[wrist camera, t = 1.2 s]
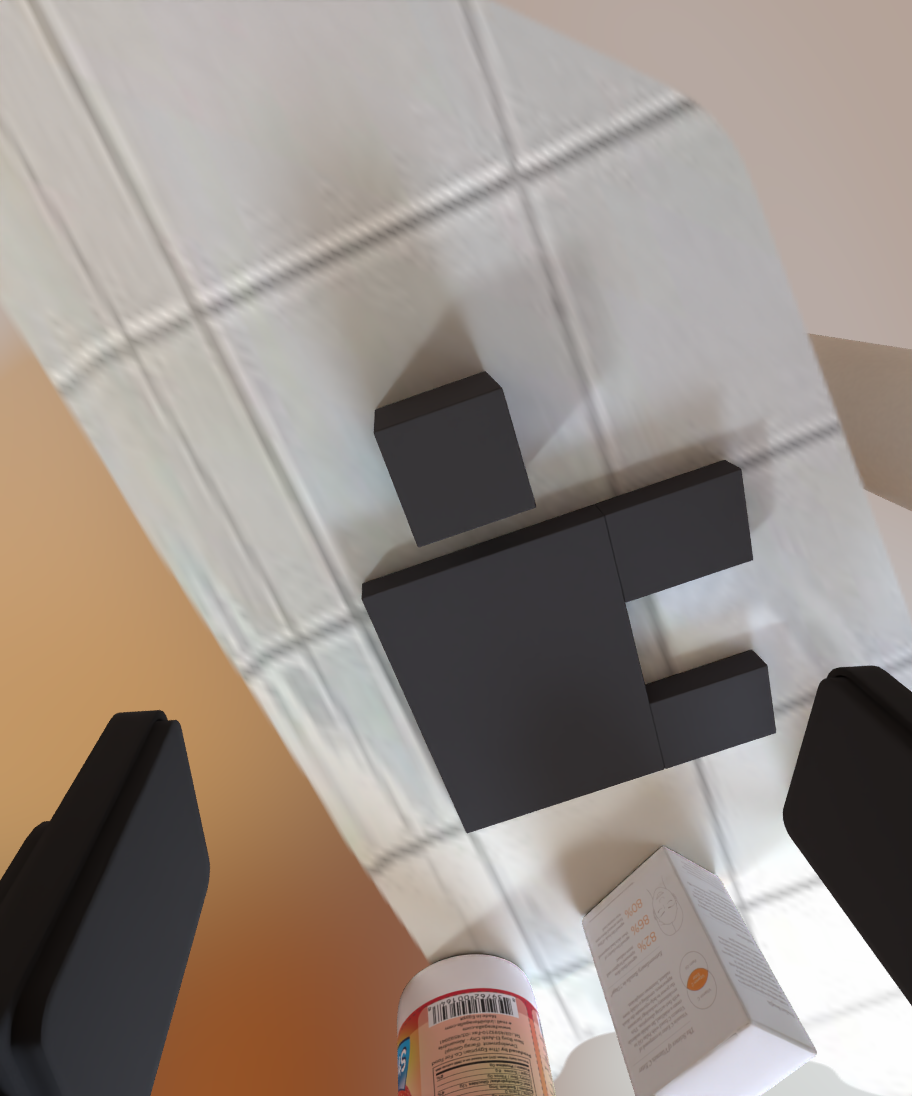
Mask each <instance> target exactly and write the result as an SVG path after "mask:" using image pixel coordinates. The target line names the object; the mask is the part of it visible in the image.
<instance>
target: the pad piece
mask: <svg viewBox="0 0 912 1096" xmlns="http://www.w3.org/2000/svg"><path fill="white" fill-rule="evenodd" d="M374 435H375V438H376V440H377V443H378V445H379V448H380V451H381V453H382V456H383V458H384V461H385V464H386V466H387V469H388V471H389V474H390V476H391V479H392V482H393V484H394V487H395V489H396V492H397V495H398V497H399V500H400V502H401V505H402V507H403V510H404V513H405V515H406V518H407V520H408V523H409V525H410V528H411V531H412V533H413V536H414V538H415V541H416V544H417V546H418V547H422V546H425V545H428V544H430V543H433V542H436V541H439V540H442V539H445V538H448V537H451V536H454V535H457V534H460V533H463V532H466V531H468V530H471V529H474V528H477V527H480V526H483V525H486V524H489V523H492V522H495V521H498V520H501V519H504V518H506V517H509V516H512V515H515V514H518V513H521V512H524V511H527V510H530V509H533V508H535V507H536V504H535V500H534V497H533V493H532V490H531V486H530V483H529V479H528V476H527V473H526V469H525V466H524V462H523V459H522V455H521V452H520V448H519V445H518V441H517V438H516V434H515V431H514V427H513V424H512V420H511V417H510V414H509V410H508V407H507V403H506V400H505V396H504V393H503V389H502V387H501V386H500V385H499V384H498V383H497V382H496V381H495V380H494V379H493V378H492V377H491V376H490V375H489V374H488V373H487V372H486V371H484V372H481V373H479V374H476V375H473V376H470V377H467V378H464V379H461V380H459V381H456V382H453V383H450V384H447V385H444V386H441V387H439V388H436V389H433V390H430V391H427V392H424V393H422V394H419V395H416V396H413V397H410V398H407V399H404V400H402V401H399V402H396V403H393V404H390V405H387V406H384V407H382V408H379V409H376V410H375V419H374Z"/></svg>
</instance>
